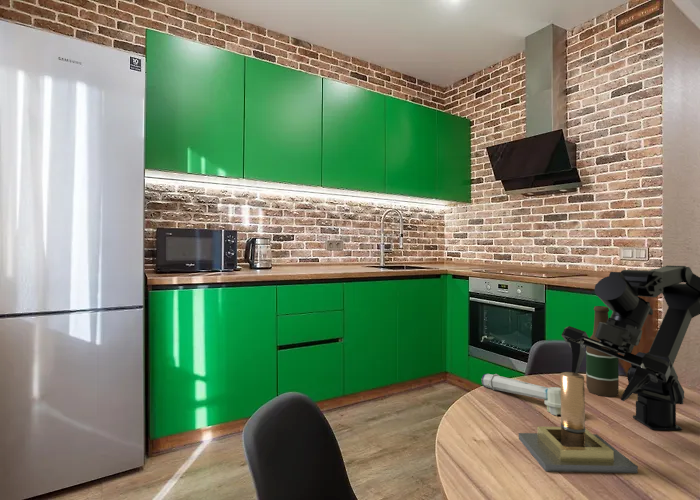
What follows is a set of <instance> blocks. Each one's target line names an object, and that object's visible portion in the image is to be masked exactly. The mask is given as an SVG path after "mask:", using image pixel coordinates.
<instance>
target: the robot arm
mask: <svg viewBox="0 0 700 500" xmlns="http://www.w3.org/2000/svg"><path fill="white" fill-rule="evenodd" d="M593 290H594V293H595V295H596V297H598V298H599V299H600V301H601V302H603V304H604V305H605V307H608V308H609V311H612V313H611V315H610V317H608V320H607V322H606V323H602V322H599V325H598V328H597V331H596V334H595V337H597V339H599V340H600V341H596V340H593V339H591V338H590V337H589V335H588V334H587V332H586V331H585V330H581V329H579V328H576V327H574V326H570V325H568V326H566V327H564V329H563V331H562V333H561V337H562V338H563V340H564V341H565V343H566V344H567V345H568V346H569V349H571V372H572V373H577V374H579V370H580V367H581V365H582V363H583V360H584V358H585V357H586V350H585V349H586V347H590V348H593V349H595V350H598V351H600V352H603V353H606V354H608V355H611V356H614V357H616V358H618V360H619V359H620V360H621V361H623V362H627V363H630V367H629V368H628V370H627V372H626V373H627V374H626V376H627V377H626V378H627V382H628V384H627V385H626V387H625V389H624V391H623V393H622V395H621V397H620V401H621V402H625V401H626V400H627V399H628V398H630V396H632V395H633V394H636V395H637V400H636V401H635V414H634V415H632V418H633V419H634V420H636V421H637V422H639V423H641V424H643V425H644V426H646V427H647V428H649V429H650V430H654V431H657V430H658V431H659V430H660V431H682V430H683V428H682V426H680V425H679V424H677V405H684V399H685V389H683V386H682V385H681V382H680V381H679V376H678V374H677V372H676V369H675V367H674V363H675V361H676V359H677V356H678V354H679V350H680V349H681V347H682V346H681V345H682V343H683V341H684V340H685V339H684V338H685V336H686V335H687V334H686V333H687V331H688V328H689V326H690V324H691V321H692V319H693V318H695V317H696V316H699V315H700V276H699V275H697V274H695V273H694V272H693V270H692V268H691V267H690V266H686V265H665V266H662V267H659V268H655V269H651V270H647V269H645V270H644V269H643V270H642V269H623V270H620V271H610V272H609V275H608V276H605V277H602V279H600V280H599V281H597V283H595V285H594V289H593ZM661 294H662V296H663V299H664V301H665V303H666V305H667V309H666V311H665V314H664V317H663V318H662V320H661V323H660V325H659V328H658V330H657V333H656V334H655V337H654V340H653V341H652V344H651V345H650V348H649V350H648V352H641V351H639V352H637V353H636V354H635V353H634V354H633V353H632V352H633V350H634V347H637V346H639V344H640V342H641V339H642V333H643V327H644V324H645V322H646V319H648V318H647V317H648V316H649V315H650V316H652V315H653V314H654V310H653V308H652V306H651V303H650V302H649V301H646V300H645V299H644V298H645V297H646V298H657V297H658V296H660V295H661ZM642 297H644V298H642ZM602 347H603V348H602ZM604 348H606V349H608V350H606V349H604Z"/></svg>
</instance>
